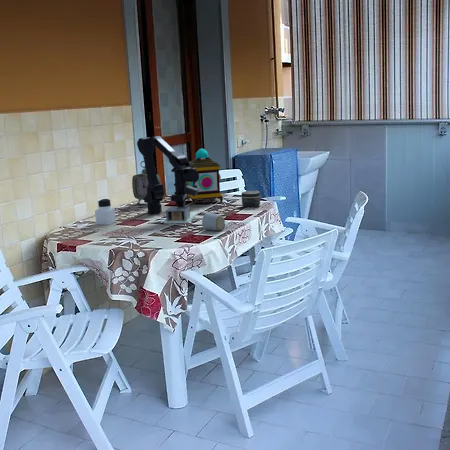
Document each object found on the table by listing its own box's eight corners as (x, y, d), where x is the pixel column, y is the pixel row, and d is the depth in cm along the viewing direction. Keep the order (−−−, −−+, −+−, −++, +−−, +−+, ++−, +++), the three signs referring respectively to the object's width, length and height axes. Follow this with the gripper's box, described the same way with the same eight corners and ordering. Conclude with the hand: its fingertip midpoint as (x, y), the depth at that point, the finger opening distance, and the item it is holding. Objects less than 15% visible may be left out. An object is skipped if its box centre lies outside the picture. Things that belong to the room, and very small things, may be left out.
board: (163, 223, 290) (163, 214, 289) (175, 214, 312) (174, 205, 311) (188, 223, 288) (187, 214, 287) (197, 213, 309) (197, 205, 308)
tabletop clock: (133, 205, 344) (130, 161, 338) (143, 202, 351) (140, 159, 346) (153, 206, 336) (150, 161, 331) (163, 203, 343) (160, 159, 338)
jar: (263, 205, 325) (263, 191, 323) (254, 208, 316) (254, 194, 315) (247, 204, 330) (247, 190, 328) (238, 207, 322) (237, 193, 320)
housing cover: (166, 220, 291) (165, 210, 290) (171, 216, 300) (170, 206, 298) (185, 220, 289) (185, 210, 288) (190, 216, 298) (189, 206, 297)
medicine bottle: (116, 221, 300) (113, 198, 297) (108, 225, 293) (106, 200, 291) (103, 221, 302) (101, 197, 300) (95, 224, 296) (93, 200, 293)
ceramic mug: (217, 232, 266) (216, 215, 265) (202, 231, 271) (201, 214, 269) (229, 227, 275) (229, 211, 274) (214, 226, 279) (214, 210, 278)
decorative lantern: (184, 200, 352) (181, 148, 346) (217, 197, 356) (214, 146, 350) (190, 205, 333) (187, 151, 327) (225, 202, 337) (223, 148, 331)
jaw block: (174, 218, 297) (173, 210, 296) (184, 218, 296) (183, 210, 295) (171, 220, 292) (171, 212, 291) (182, 220, 291) (181, 212, 290)
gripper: (191, 183, 289) (193, 215, 292) (200, 178, 307) (202, 208, 310) (169, 184, 291) (171, 215, 294) (179, 178, 309) (181, 208, 312)
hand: (182, 211), depth 303 cm, fingers closed
